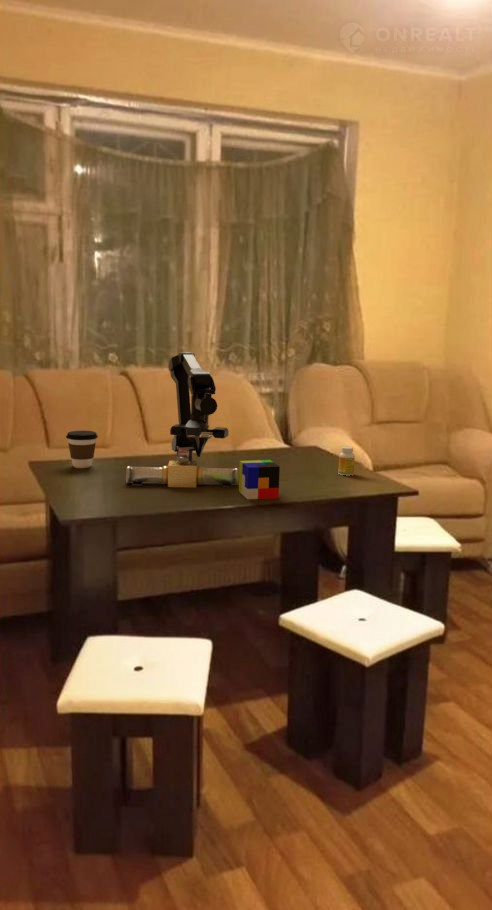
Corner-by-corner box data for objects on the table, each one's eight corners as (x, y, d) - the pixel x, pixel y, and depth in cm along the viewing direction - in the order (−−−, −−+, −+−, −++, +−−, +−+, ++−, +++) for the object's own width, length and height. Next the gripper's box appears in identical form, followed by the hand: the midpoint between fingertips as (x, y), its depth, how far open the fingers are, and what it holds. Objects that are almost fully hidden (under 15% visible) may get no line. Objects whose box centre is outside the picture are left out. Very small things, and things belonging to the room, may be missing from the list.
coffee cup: (91, 470, 275) (91, 436, 272) (61, 468, 276) (61, 434, 274) (102, 464, 285) (102, 431, 283) (73, 462, 287) (72, 429, 285)
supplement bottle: (346, 476, 276) (347, 449, 274) (335, 473, 280) (336, 446, 279) (356, 475, 280) (358, 447, 278) (345, 472, 284) (347, 445, 282)
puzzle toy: (247, 499, 242) (248, 467, 240) (238, 491, 251) (239, 460, 249) (278, 498, 245) (279, 466, 243) (269, 490, 254) (270, 459, 252)
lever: (188, 463, 255) (188, 458, 255) (176, 463, 255) (177, 458, 255) (189, 454, 270) (189, 449, 270) (178, 453, 270) (178, 449, 270)
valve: (127, 480, 261) (127, 458, 260) (237, 482, 263) (237, 460, 262) (125, 486, 253) (125, 464, 252) (238, 488, 255) (238, 466, 254)
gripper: (164, 411, 257) (164, 459, 260) (220, 415, 252) (219, 463, 256) (175, 407, 267) (175, 453, 270) (229, 411, 263) (228, 457, 266)
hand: (198, 456), depth 265 cm, fingers closed
